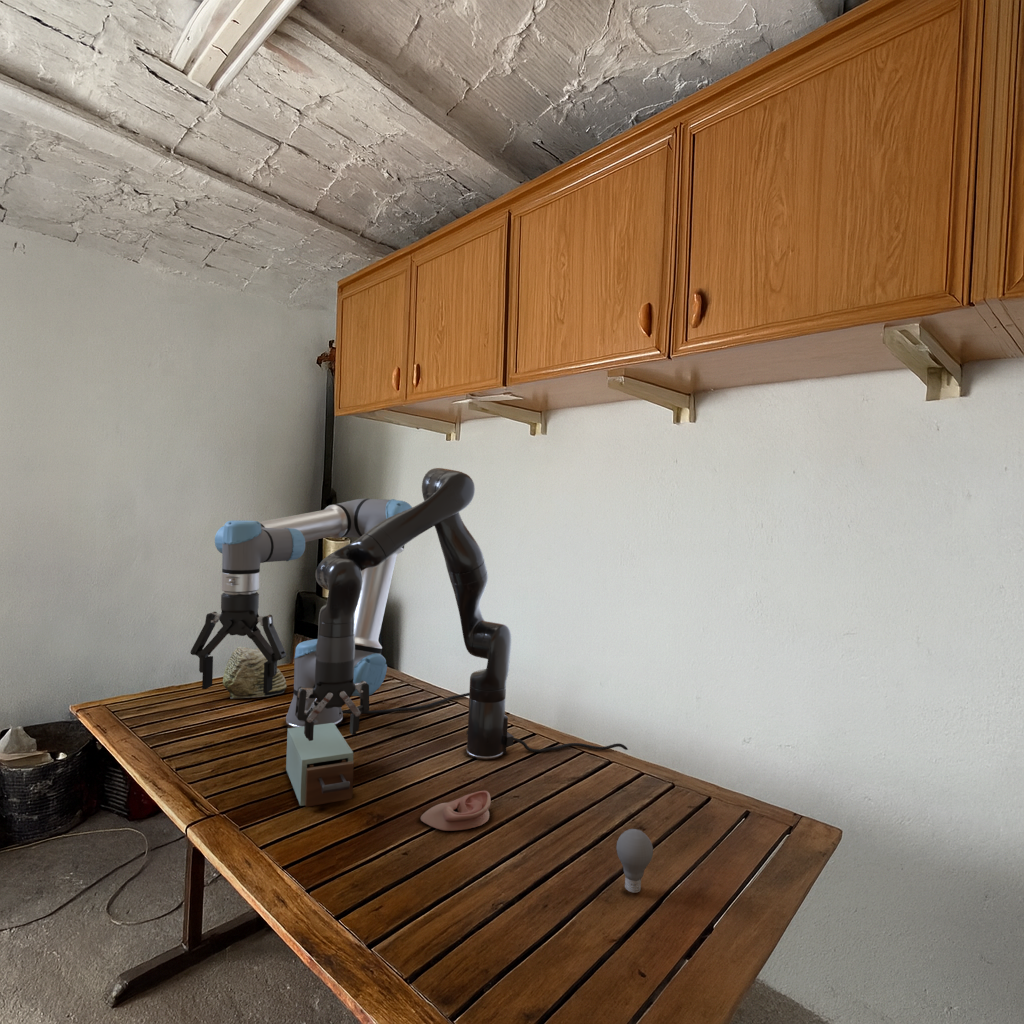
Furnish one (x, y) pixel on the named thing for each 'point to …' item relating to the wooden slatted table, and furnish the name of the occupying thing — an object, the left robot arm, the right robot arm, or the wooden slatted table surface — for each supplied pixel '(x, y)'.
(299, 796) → the cabinet
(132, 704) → the wooden slatted table surface
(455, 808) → the anatomical model
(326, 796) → the drawer
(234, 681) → the fossil
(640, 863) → the light bulb
